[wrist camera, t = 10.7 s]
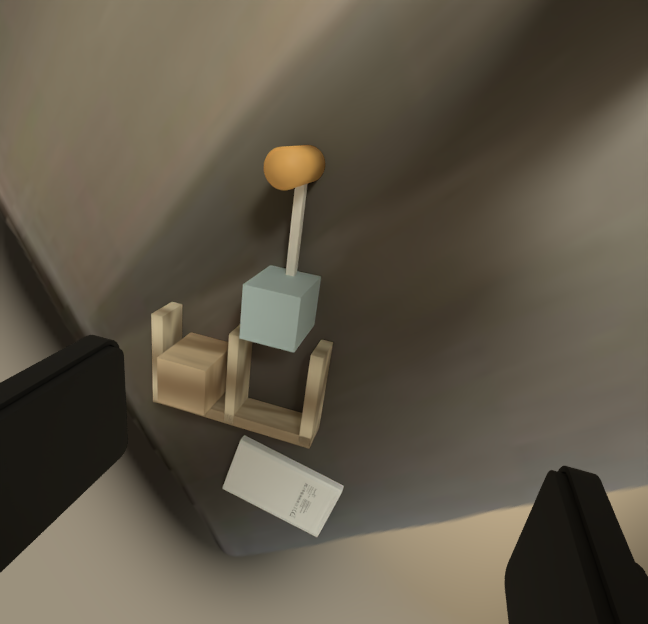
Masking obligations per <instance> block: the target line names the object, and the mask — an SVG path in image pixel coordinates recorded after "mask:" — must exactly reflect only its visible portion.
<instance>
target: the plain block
mask: <svg viewBox="0 0 648 624" xmlns="http://www.w3.org/2000/svg"><path fill="white" fill-rule="evenodd" d="M228 344H229V342H225V341H222V340H218V339H214V338H210V337H206V336H203V335H199V334H195V333H189V334H188V335H187V336H185V337H184V338H183V339H181V340H180V341H179V342H177V343H176V344H175V345H173V346H172V347H171V348H169V349H168V350H167V351H165V352H164V353H163V354H161V355H160V356H158V357H157V389H158V402H160V403H163V404H166V405H170V406H173V407H176V408H180V409H183V410H186V411H190V412H193V413H196V414H200V415H203V416H204V415H205V414H206V413H207V412H208V411H209V409H210V408H211V407H212V406H213V405H214V404H215V403H216V402H217V401H218V399H219V398H220V397H221V396H222V395H223V394H224V393H225V392H226V378H227V361H228Z"/></svg>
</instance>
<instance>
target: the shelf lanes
mask: <svg viewBox="0 0 648 624" xmlns="http://www.w3.org/2000/svg"><path fill="white" fill-rule="evenodd" d="M151 317H152V370H153V402H157V403H160V402H158V389H157V357H158V356H160V355H161V354H163V353H164V352H165V351H167V350H168V349H169V348H171V347H172V346H173V345H175V344H176V343H177V342H179V341H180V340H181V339H182V304H179V303H175V302H171V303H169V304H167V305H166V306H164V307H162V308H161V309H159V310H157V311H155V312H154V313H152V314H151ZM239 336H240V325H239V326H238V327H237V328H235V329H234V330H233V331H232V332H231V333H230V334H229V344H228V361H227V378H226V392H225V393H224V394H223V395H222V396H221V397H220V398H219V399H218V401H217V402H216V403H215V404H214V405H213V406H212V407H211V408H210V409H209V411H208V412H207V413H206V414H205V415H204V416H203V415H200V414H197V415H200V416H203V417H206V418H210V419H213V420H216V421H220V422H223V423H226V424H230V425H233V426H236V427H240V428H243V429H246V430H250V431H253V432H256V433H259V434H263V435H266V436H269V437H273V438H276V439H279V440H283V441H286V442H289V443H293V444H296V445H299V446H303V447H306V448H310V446H311V444H312V442H313V440H314V438H315V436H316V433H317V431H318V429H319V426H320V420H321V414H322V408H323V402H324V395H325V389H326V383H327V377H328V371H329V365H330V359H331V353H332V347H333V342H330V341H326V340H322V339H321V340H320V342H319V343H318V345H317V347H316V348H315V350H314V351H313V353H312V354H311V357H310V364H309V371H308V378H307V385H306V392H305V399H304V406H303V413H300V412H297V411H293V410H290V409H286V408H283V407H279V406H276V405H272V404H269V403H265V402H262V401H258V400H255V399H251V398H248V392H249V380H250V368H251V356H252V344H253V342H251V341H247V340H243V339H239ZM160 404H163V403H160ZM163 405H166V404H163ZM167 406H170V405H167ZM170 407H173V406H170ZM173 408H176V407H173ZM177 409H180V408H177ZM180 410H183V409H180ZM183 411H186V410H183ZM187 412H190V411H187ZM190 413H193V412H190ZM193 414H196V413H193Z"/></svg>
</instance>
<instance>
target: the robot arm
mask: <svg viewBox="0 0 648 624" xmlns="http://www.w3.org/2000/svg"><path fill="white" fill-rule="evenodd" d="M127 444H128V434H127V413H126V392H125V371H124V355H123V351H122V350H121V349H119V345H118V344H117V342H115V341H114V340H110V339H106V338H103V337H99V336H96V335H89V336H86V337H84V338H82V339H80V340H78V341H77V342H75V343H73V344H72V345H69V346H67V347H66V348H64V349H62V350H60V351H58V352H57V353H55V354H53V355H51V356H49V357H47V358H46V359H43V360H42V361H40V362H38V363H36V364H34V365H32V366H31V367H29V368H27V369H25V370H23V371H21V372H19V373H18V374H16V375H14V376H12V377H10V378H9V379H7V380H5V381H3V382H1V383H0V572H2V571H3V569H5V568H6V567H7V566H8V565H9V564H10V563H11V562H12V561H13V560H14V559H15V558H16V557H17V556H18V555H19V554H20V553H21V552H22V551H23V550H24V549H26V548H27V546H28V545H30V544H31V543H32V542H33V541H34V540H35V539H36V538H37V537H38V536H39V535H40V534H41V533H42V532H43V531H44V530H45V529H46V528H47V527H48V526H50V525H51V523H53V522H54V521H55V520H56V519H57V518H58V517H59V516H60V515H61V514H62V513H63V512H64V511H65V510H66V509H67V508H68V507H69V506H70V505H71V504H72V503H74V502H75V501H76V500H77V499H78V498H79V497H80V496H81V495H82V494H83V493H84V492H85V491H86V490H87V489H88V488H89V487H90V486H91V485H92V484H93V483H94V482H95V481H96V480H98V478H100V476H102V474H104V473H105V472H106V471H107V470H108V469H109V468H110V467H111V466H112V465H113V464H114V463H115V462H116V461H117V460H118V459H119V458H120V457H121V456H122V455H123V454H124V452H125V450H126V448H127ZM505 593H506V602H507V611H508V620H509V624H648V576H647V575H646V573H645V571H644V570H643V568H642V567H641V566H640V565H638V564H637V563H635V561H634V559H633V556H632V554H631V552H630V549H629V547H628V544H627V542H626V539H625V537H624V535H623V532H622V530H621V528H620V525H619V523H618V521H617V518H616V516H615V513H614V511H613V508H612V506H611V504H610V501H609V499H608V497H607V494H606V492H605V489H604V487H603V485H602V482H601V480H600V478H599V477H598V476H597V475H596V474H593V473H589V472H586V471H582V470H578V469H575V468H571V467H568V466H562V467H561V468H560V469H559V471H558V472H557V471H553V470H550V471H549V472H548V474H547V475H546V478H545V480H544V482H543V484H542V487H541V489H540V491H539V494H538V496H537V498H536V500H535V503H534V505H533V507H532V510H531V512H530V514H529V517H528V519H527V521H526V523H525V526H524V528H523V530H522V532H521V535H520V537H519V539H518V542H517V544H516V546H515V549H514V551H513V553H512V555H511V558H510V560H509V562H508V565H507V568H506V572H505Z"/></svg>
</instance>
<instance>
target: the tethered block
mask: <svg viewBox="0 0 648 624" xmlns="http://www.w3.org/2000/svg"><path fill="white" fill-rule="evenodd" d="M324 169H325V159H324V156H323V154H322V153H321V151H320V150H319V149H318V148H316V147H314V146H312V145H300V146H285V147H277V148H275V149H273V150H272V151H270V152H269V154H268V155H267V157H266V159H265V162H264V173H265V176H266V178H267V180H268V182H269V183H270V184H271V185H272V186H273V187H275V188H276V189H279V190H290V189H293V188H295V192H294V201H293V210H292V220H291V229H290V238H289V247H288V257H287V266H286V268H281V267H277V266H272V265H270V266H268V267H267V268H266V269H264V270H263V271H261V272H260V273H258V274H257V275H256V276H254V277H253V278H251V279H250V280H248V281H247V282H246V283H244V284H243V292H242V306H241V321H240V336H239V339H243V340H247V341H251V342H255V343H259V344H263V345H266V346H270V347H274V348H278V349H282V350H286V351H290V352H293V353H294V352H295V351H296V349H297V348H298V347H299V345H300V344H301V343H302V341H303V340H304V339H305V337H306V336H307V335H308V333H309V332H310V331H311V329H312V328H313V327H314V325H315V318H316V311H317V303H318V296H319V289H320V282H321V276H317V275H313V274H308V273H304V272H299V271H297V269H298V260H299V252H300V243H301V235H302V226H303V218H304V209H305V201H306V192H307V184H308V183H311V182H314V181H316V180H318V179H319V178H320V177H321V176H322V174H323V172H324Z"/></svg>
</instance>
